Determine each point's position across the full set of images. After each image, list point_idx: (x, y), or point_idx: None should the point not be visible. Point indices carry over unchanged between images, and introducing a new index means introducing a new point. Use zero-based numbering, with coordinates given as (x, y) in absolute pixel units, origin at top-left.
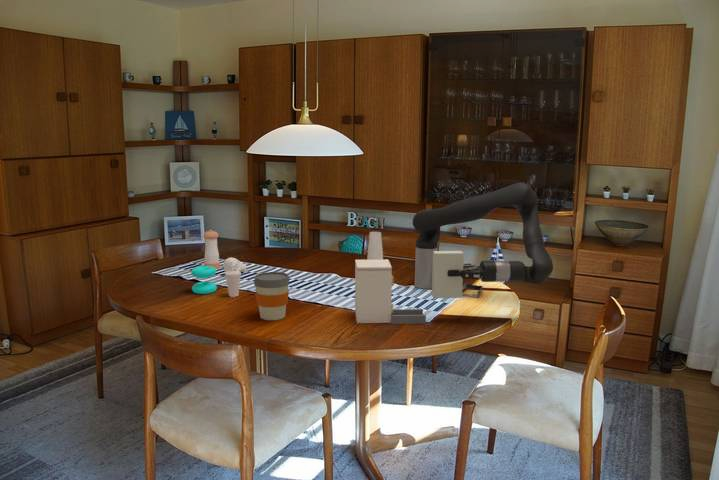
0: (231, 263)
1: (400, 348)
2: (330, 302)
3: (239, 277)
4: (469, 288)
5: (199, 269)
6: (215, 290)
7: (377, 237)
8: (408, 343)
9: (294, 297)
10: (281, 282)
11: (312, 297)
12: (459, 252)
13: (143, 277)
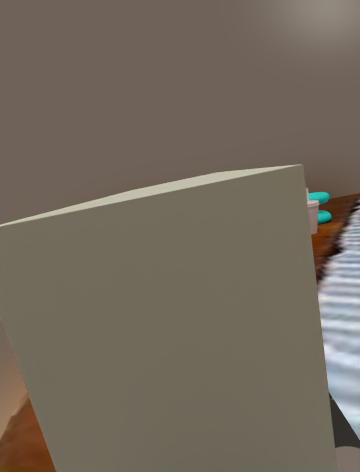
0: (306, 190)
1: (8, 425)
2: (338, 287)
3: (308, 210)
4: None
5: (313, 195)
6: (318, 222)
7: None
8: (26, 444)
9: (340, 257)
10: None
11: (357, 267)
12: (107, 201)
13: (340, 200)
